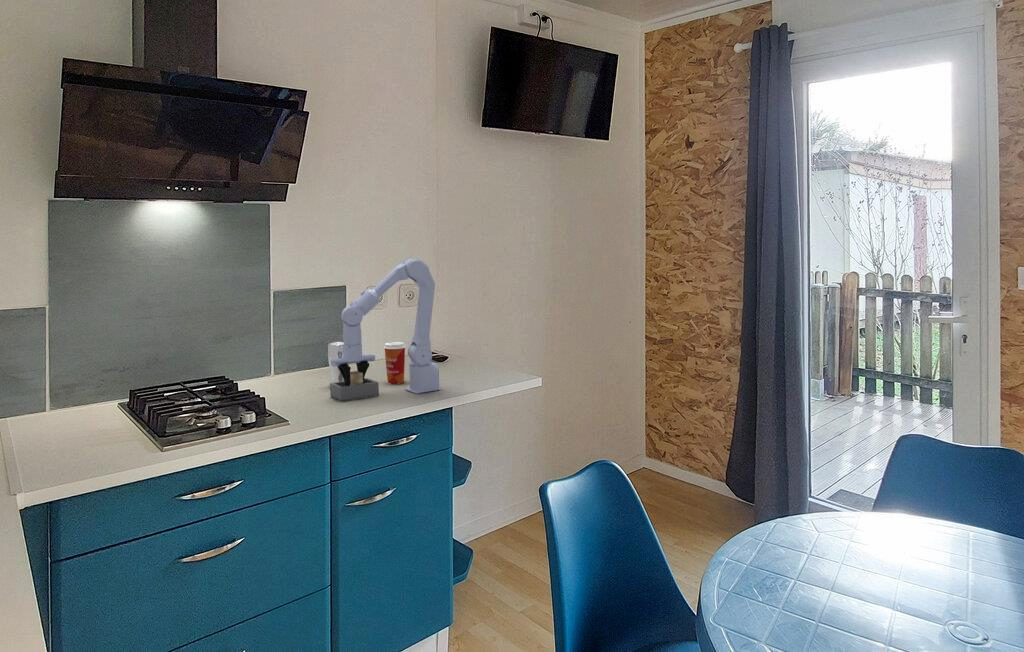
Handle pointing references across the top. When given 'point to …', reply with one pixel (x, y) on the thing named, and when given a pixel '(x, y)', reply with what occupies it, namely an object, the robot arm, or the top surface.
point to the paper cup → (395, 361)
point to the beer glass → (333, 353)
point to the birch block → (356, 378)
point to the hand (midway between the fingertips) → (354, 385)
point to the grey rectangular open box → (354, 390)
